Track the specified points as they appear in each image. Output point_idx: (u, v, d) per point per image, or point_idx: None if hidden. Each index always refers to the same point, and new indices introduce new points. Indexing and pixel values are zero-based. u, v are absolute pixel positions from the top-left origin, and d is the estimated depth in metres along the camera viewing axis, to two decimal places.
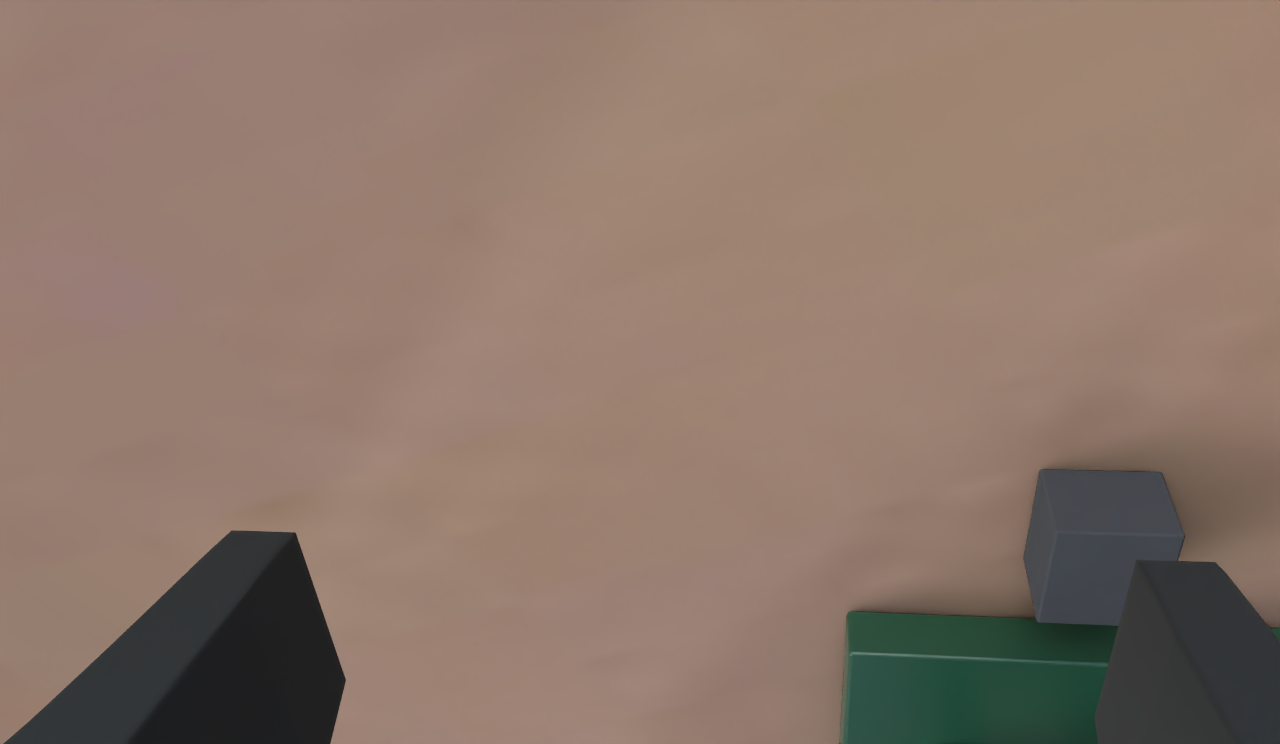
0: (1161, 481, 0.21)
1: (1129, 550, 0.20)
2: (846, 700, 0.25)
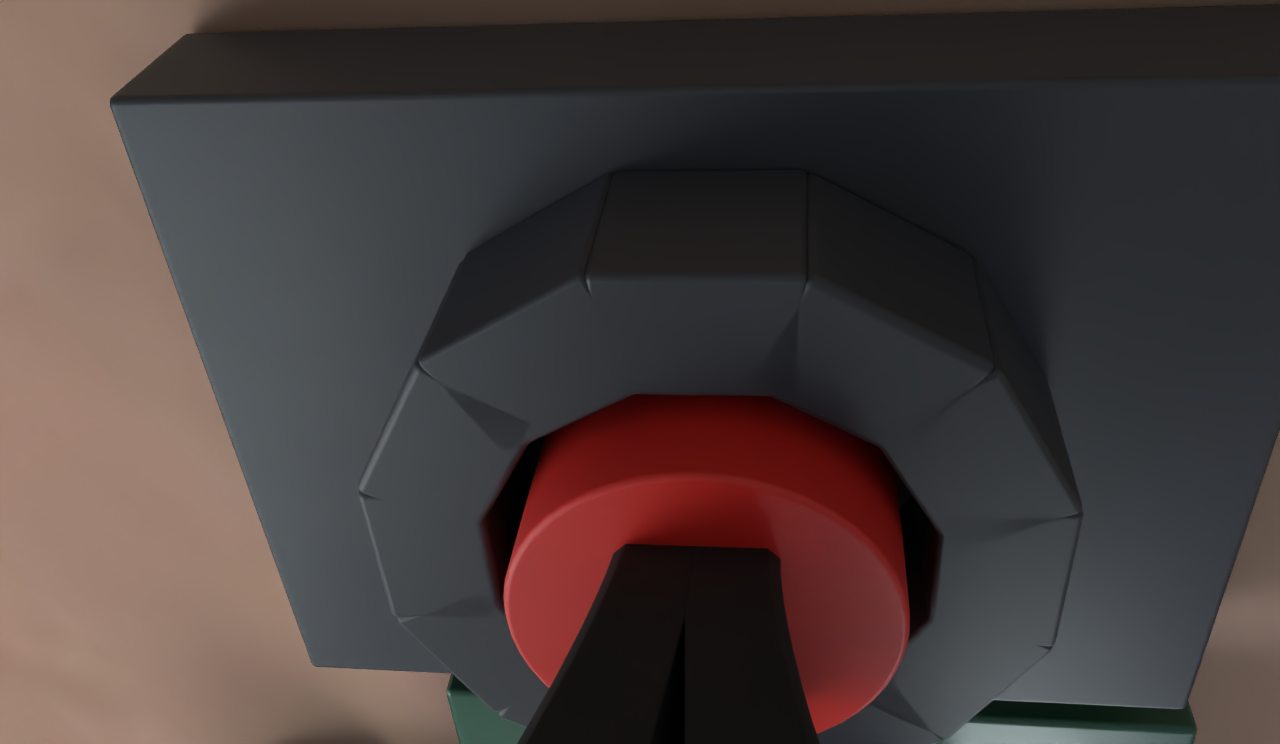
0: None
1: None
2: None
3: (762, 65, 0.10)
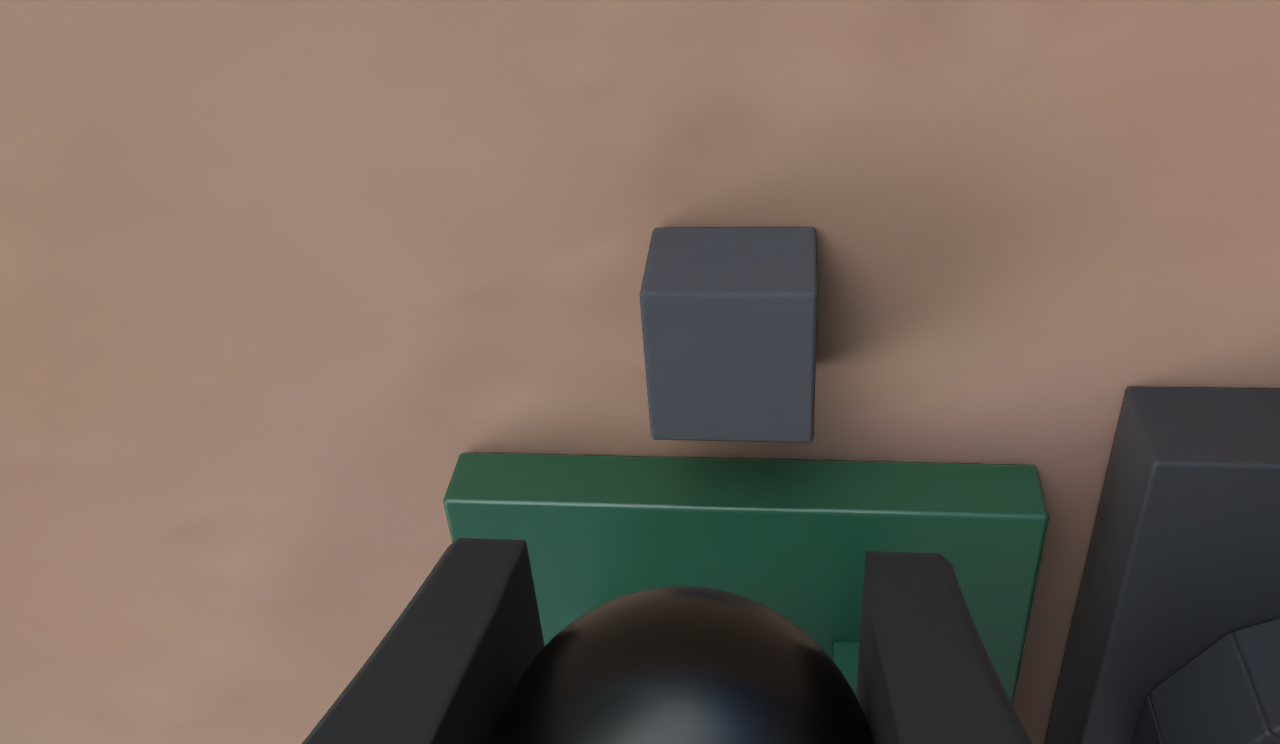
0: (810, 236, 0.15)
1: (744, 319, 0.14)
2: None
3: None
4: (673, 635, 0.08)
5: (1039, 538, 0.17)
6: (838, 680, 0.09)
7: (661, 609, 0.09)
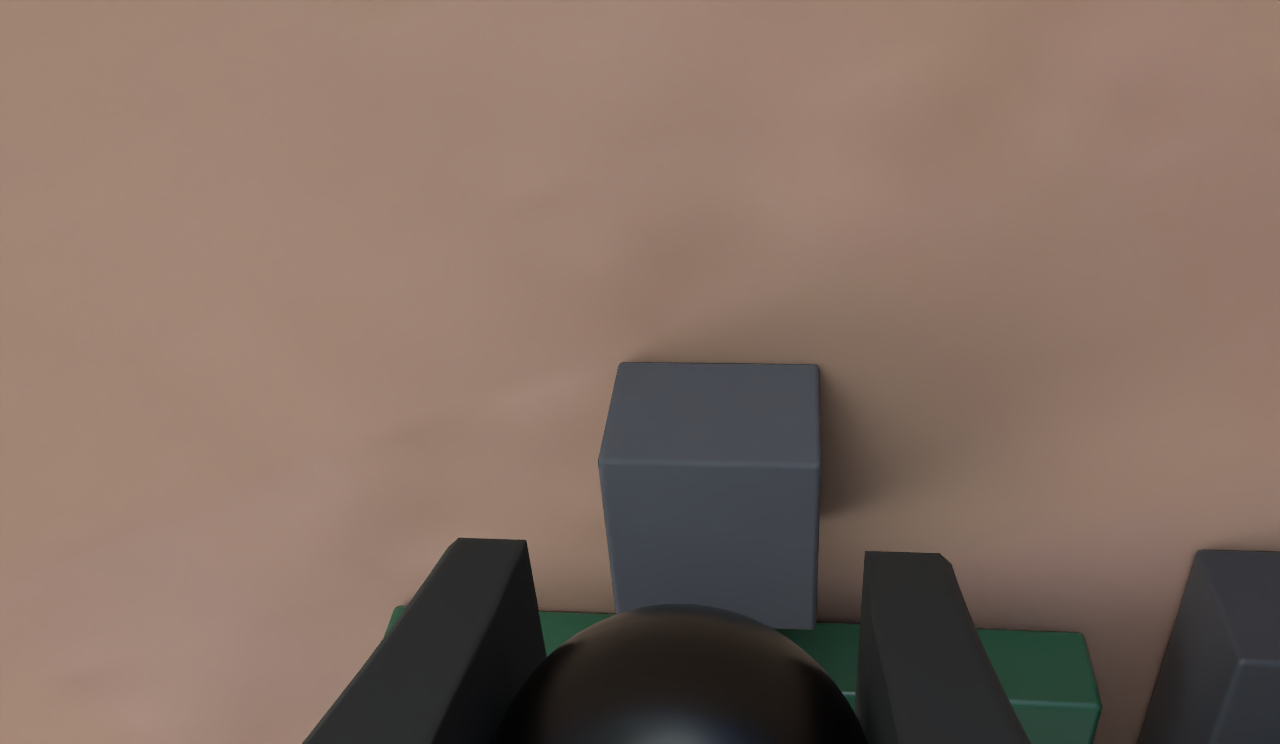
0: (812, 379, 0.12)
1: (729, 492, 0.11)
2: None
3: None
4: (677, 615, 0.09)
5: (1090, 730, 0.14)
6: (836, 686, 0.09)
7: (665, 605, 0.09)
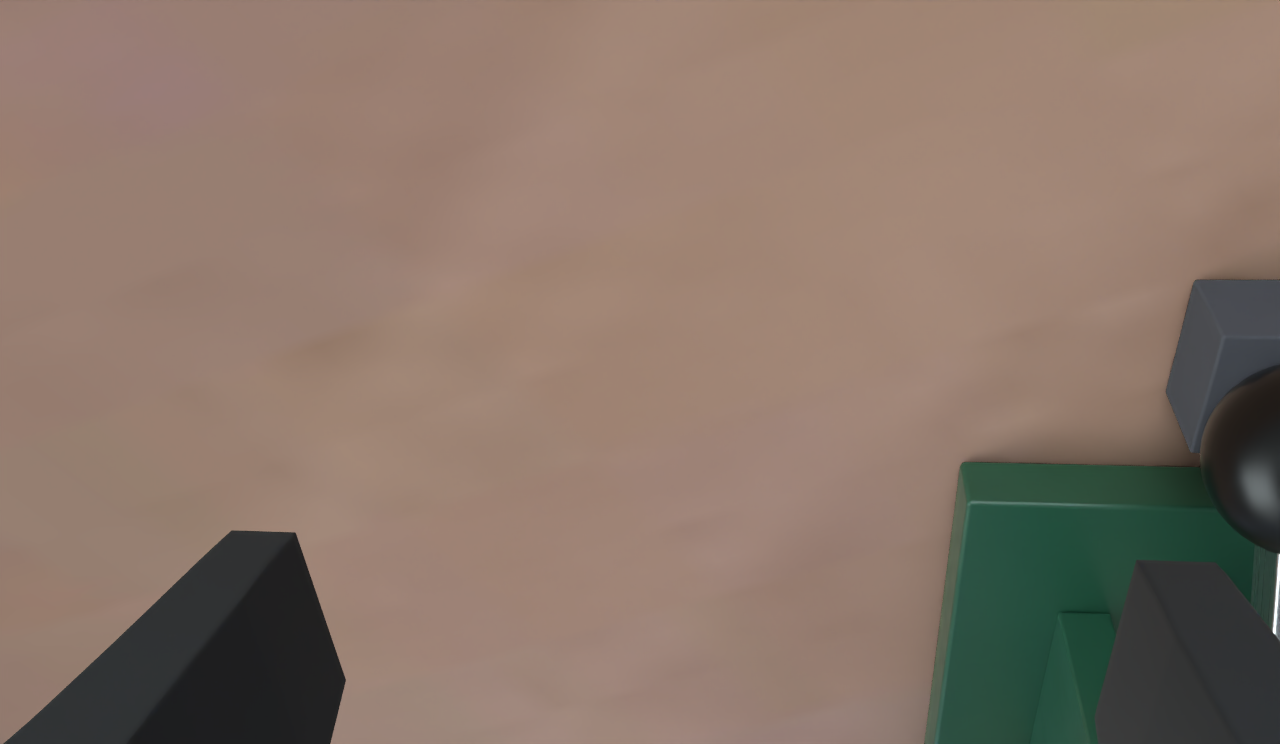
0: None
1: None
2: (959, 560, 0.22)
3: None
4: None
5: None
6: None
7: None
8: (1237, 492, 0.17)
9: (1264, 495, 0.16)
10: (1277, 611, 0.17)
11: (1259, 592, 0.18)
